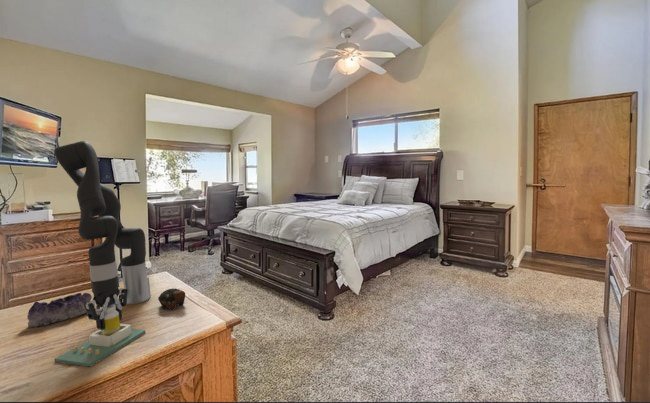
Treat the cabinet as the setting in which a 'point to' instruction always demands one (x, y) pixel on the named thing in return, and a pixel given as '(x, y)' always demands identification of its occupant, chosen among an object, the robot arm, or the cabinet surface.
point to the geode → (57, 310)
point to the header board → (100, 346)
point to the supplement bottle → (111, 321)
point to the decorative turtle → (172, 298)
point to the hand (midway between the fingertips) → (110, 324)
